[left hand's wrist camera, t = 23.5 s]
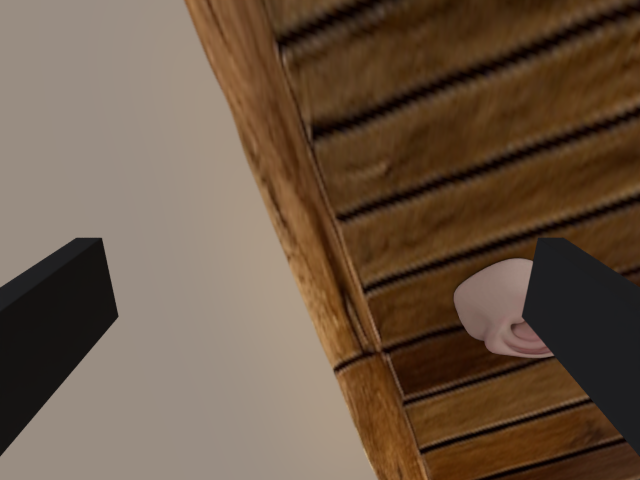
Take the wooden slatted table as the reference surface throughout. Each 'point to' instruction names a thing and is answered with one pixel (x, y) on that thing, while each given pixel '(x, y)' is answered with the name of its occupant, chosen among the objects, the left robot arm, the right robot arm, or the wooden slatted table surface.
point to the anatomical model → (500, 309)
